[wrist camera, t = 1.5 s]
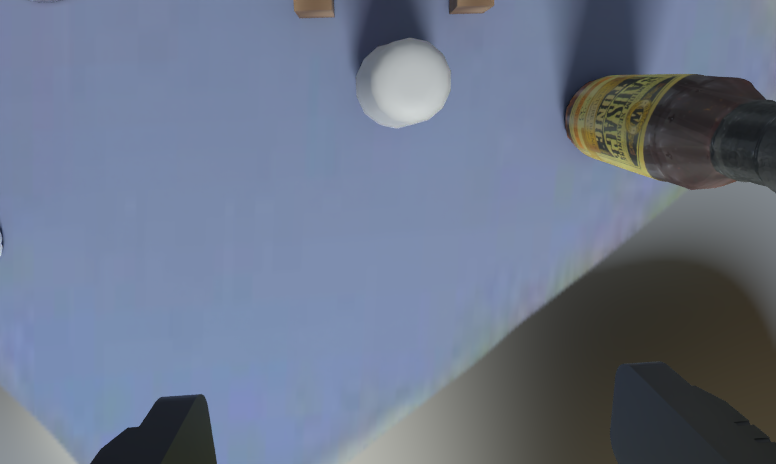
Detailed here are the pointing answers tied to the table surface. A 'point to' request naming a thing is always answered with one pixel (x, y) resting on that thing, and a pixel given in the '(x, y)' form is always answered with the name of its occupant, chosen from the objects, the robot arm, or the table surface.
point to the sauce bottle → (677, 128)
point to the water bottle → (1, 244)
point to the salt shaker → (403, 83)
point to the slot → (320, 3)
